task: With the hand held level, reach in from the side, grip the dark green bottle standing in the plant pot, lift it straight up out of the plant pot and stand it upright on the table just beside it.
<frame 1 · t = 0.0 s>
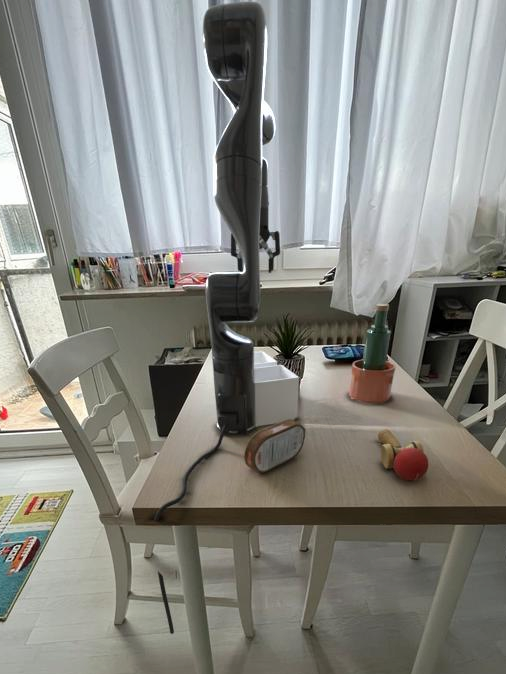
hand: (255, 272, 116), 29 cm above the table, tool pointing down, fingers open, 8 cm apart
storage container: (259, 406, 106), on the table, touching arm
plant pot: (369, 397, 109), on the table
tin: (276, 464, 79), on the table
bottle: (369, 395, 108), point 1 cm above the table, touching plant pot
kendama: (395, 462, 79), on the table
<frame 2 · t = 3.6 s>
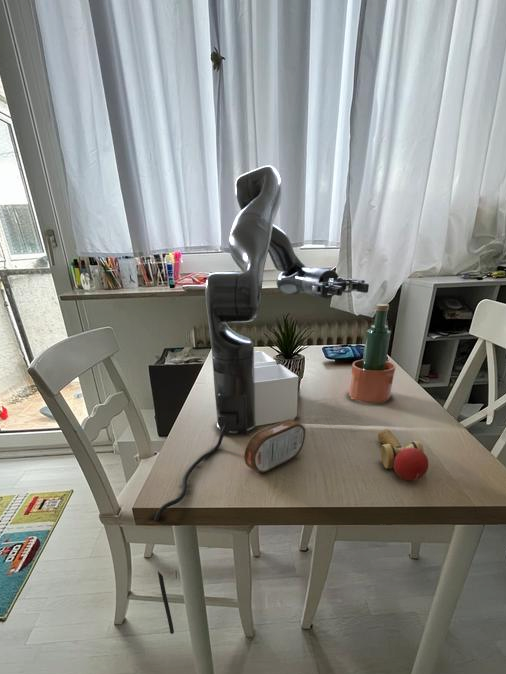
hand: (354, 289, 103), 26 cm above the table, tool horizontal, fingers open, 8 cm apart
nothing on the table moved.
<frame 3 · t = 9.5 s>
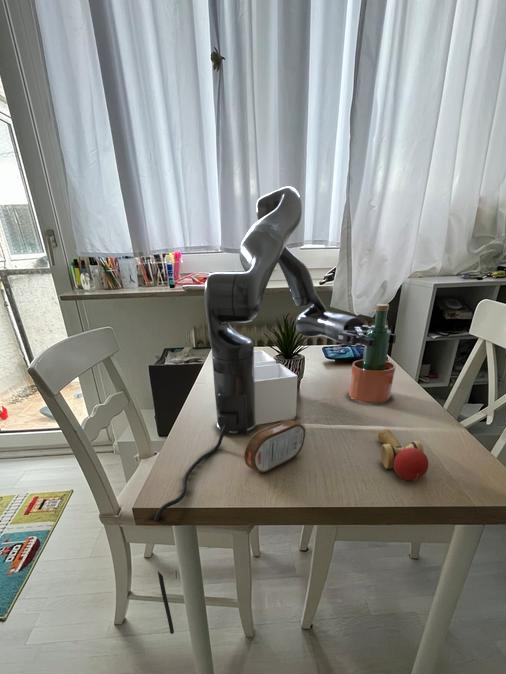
hand: (384, 341, 98), 16 cm above the table, tool horizontal, fingers closed on bottle, 6 cm apart
bottle: (369, 394, 108), point 1 cm above the table, touching plant pot, gripper
everything else where it was.
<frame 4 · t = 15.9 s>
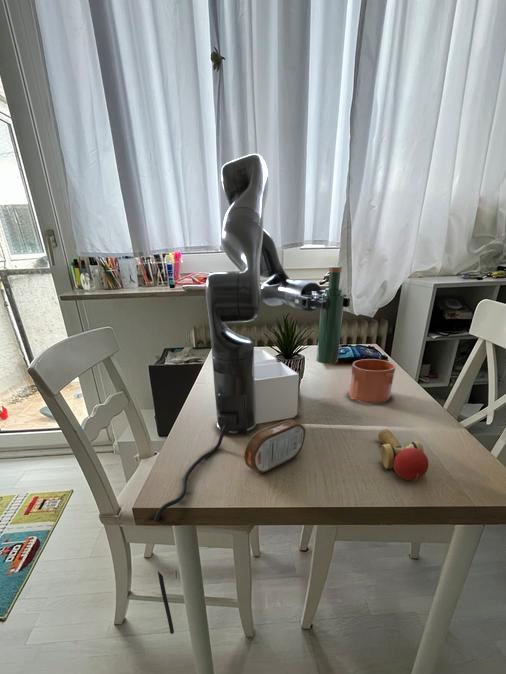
hand: (337, 303, 99), 24 cm above the table, tool horizontal, fingers closed on bottle, 6 cm apart
storage container: (259, 403, 107), on the table
bottle: (327, 360, 109), point 9 cm above the table, touching gripper
everything else where it was.
when the fingers open (15 cm above the table, at t = 18.7 s): bottle stays where it is, on the table.
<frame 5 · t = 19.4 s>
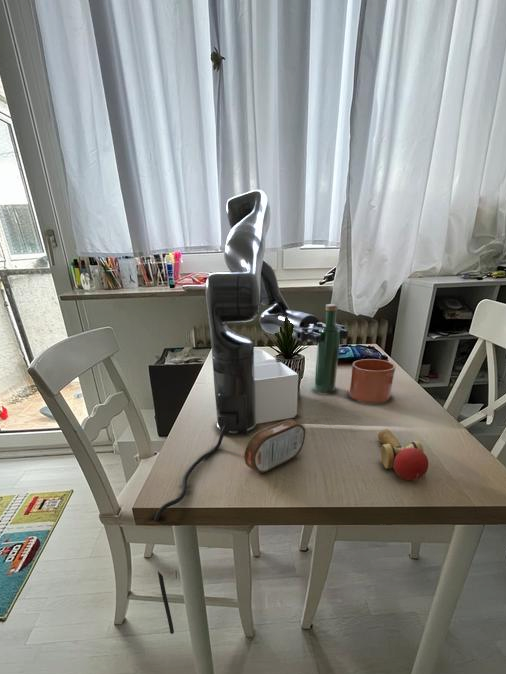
hand: (333, 337, 104), 16 cm above the table, tool horizontal, fingers open, 8 cm apart
bottle: (324, 390, 114), on the table
everything else where it was.
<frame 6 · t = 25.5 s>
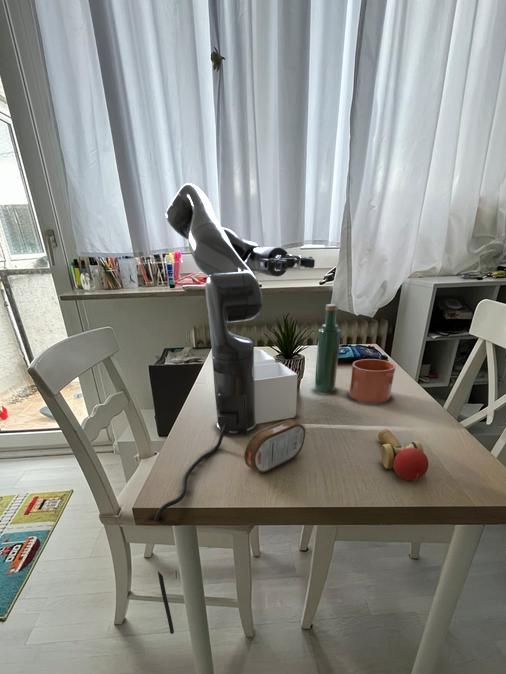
hand: (299, 264, 104), 32 cm above the table, tool horizontal, fingers open, 8 cm apart
nothing on the table moved.
at the end: bottle inside the target area (0.1 cm from its centre), on the table; bottle tilted 0°; the gripper is holding nothing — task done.
